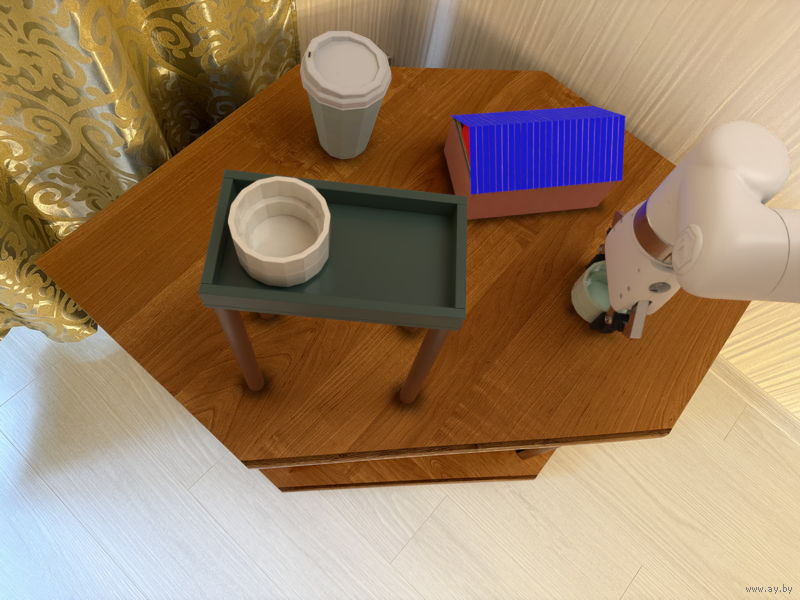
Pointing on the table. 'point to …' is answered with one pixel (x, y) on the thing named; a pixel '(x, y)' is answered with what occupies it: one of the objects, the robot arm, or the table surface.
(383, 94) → the disposable coffee cup
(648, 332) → the table surface
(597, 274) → the dish
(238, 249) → the dish
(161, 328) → the table surface
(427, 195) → the tray
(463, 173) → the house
